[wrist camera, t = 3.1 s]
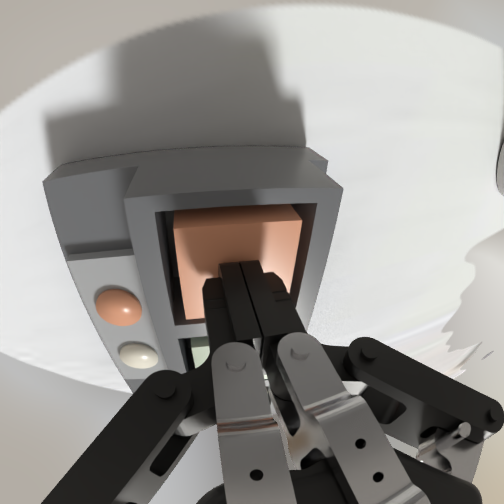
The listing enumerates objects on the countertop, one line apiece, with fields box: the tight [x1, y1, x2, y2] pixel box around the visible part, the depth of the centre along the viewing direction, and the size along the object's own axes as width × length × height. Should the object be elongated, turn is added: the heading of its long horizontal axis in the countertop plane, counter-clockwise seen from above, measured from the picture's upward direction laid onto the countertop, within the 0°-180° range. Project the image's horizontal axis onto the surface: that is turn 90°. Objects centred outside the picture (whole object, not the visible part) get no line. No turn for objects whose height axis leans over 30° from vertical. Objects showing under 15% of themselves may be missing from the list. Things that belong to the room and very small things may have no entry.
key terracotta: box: [174, 204, 302, 320], centre depth 12 cm, size 5×5×2 cm
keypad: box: [43, 146, 343, 414], centre depth 17 cm, size 14×21×6 cm
